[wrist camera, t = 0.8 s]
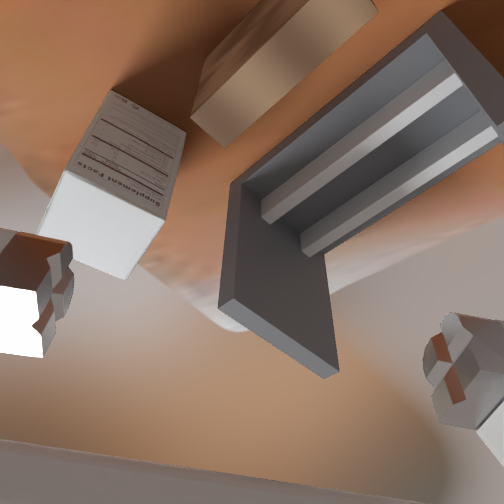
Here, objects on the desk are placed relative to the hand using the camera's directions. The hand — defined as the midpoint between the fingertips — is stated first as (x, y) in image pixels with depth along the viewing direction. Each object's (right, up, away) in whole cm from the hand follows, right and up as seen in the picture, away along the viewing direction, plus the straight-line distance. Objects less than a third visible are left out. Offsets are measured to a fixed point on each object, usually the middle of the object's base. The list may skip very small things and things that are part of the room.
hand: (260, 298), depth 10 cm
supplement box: (-11, +11, +32) cm, 35 cm away
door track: (+10, +10, +32) cm, 35 cm away
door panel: (+2, +18, +25) cm, 31 cm away
